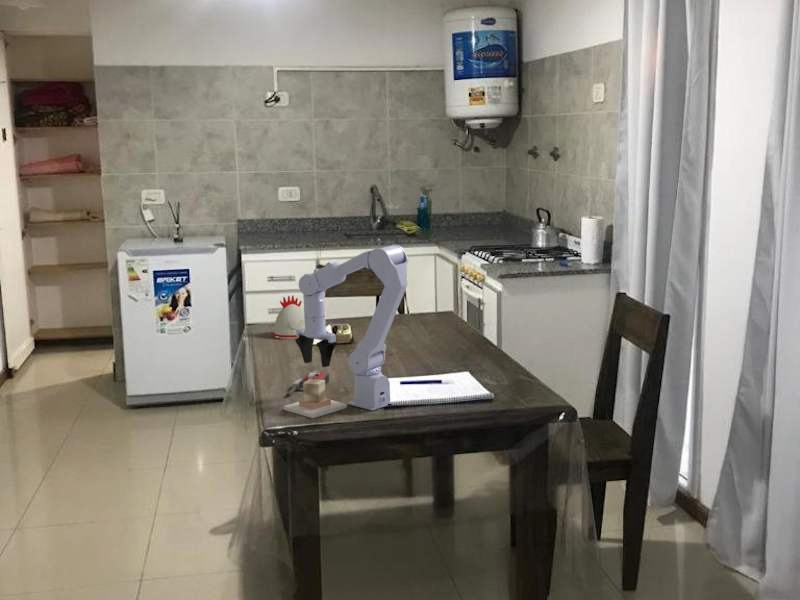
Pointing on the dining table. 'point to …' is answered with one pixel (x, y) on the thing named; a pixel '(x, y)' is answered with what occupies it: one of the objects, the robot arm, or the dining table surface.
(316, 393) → the birch block
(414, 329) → the dining table surface
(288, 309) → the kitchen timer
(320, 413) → the base plate
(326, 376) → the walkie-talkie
